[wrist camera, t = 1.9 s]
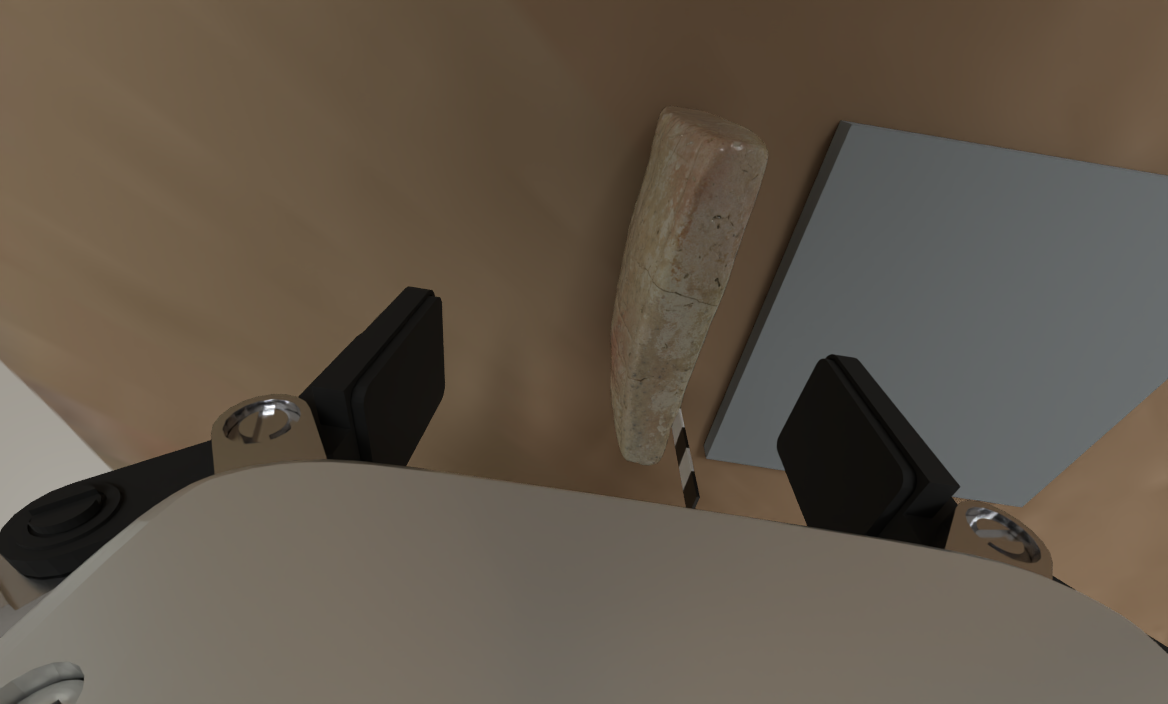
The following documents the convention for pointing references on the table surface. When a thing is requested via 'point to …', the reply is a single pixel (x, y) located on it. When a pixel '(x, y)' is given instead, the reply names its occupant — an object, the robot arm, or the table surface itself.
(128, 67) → the table surface
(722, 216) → the cuneiform tablet
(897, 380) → the mat
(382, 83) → the table surface
